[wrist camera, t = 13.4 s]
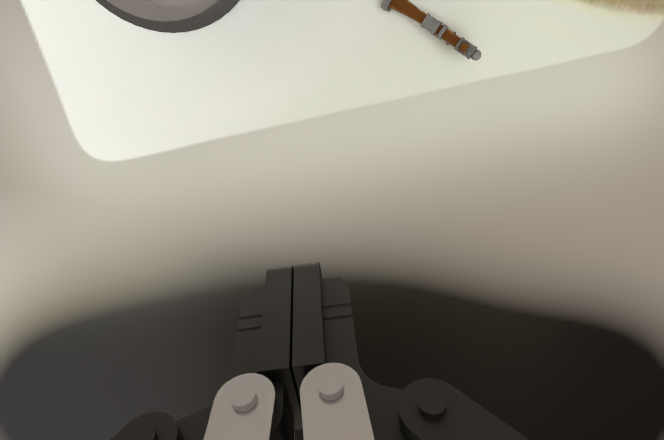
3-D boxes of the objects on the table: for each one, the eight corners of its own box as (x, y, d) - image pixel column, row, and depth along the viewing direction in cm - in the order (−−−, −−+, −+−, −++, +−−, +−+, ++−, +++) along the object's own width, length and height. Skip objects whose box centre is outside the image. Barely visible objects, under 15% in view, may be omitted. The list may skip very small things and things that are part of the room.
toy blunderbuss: (472, 68, 35) (472, 69, 31) (390, 13, 36) (379, 7, 32) (487, 47, 35) (488, 45, 31) (403, -9, 35) (394, -18, 31)
